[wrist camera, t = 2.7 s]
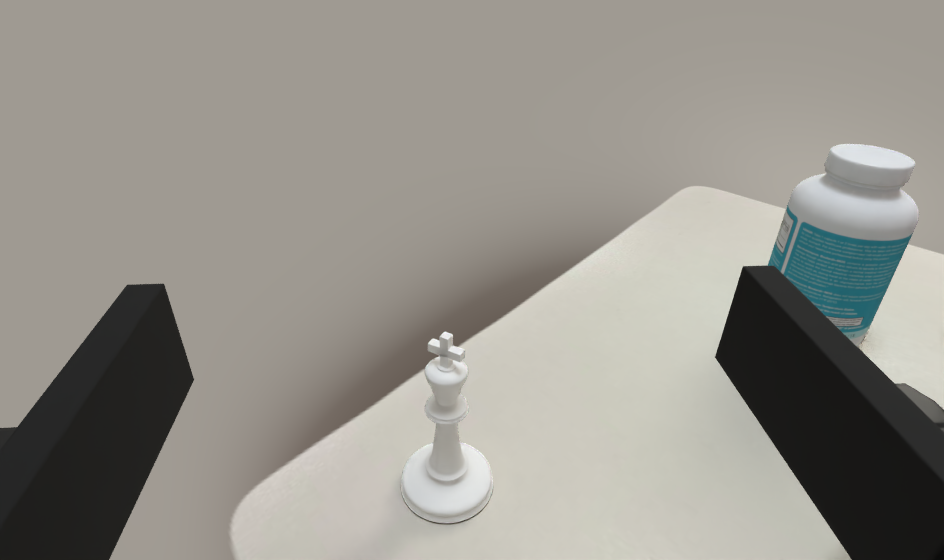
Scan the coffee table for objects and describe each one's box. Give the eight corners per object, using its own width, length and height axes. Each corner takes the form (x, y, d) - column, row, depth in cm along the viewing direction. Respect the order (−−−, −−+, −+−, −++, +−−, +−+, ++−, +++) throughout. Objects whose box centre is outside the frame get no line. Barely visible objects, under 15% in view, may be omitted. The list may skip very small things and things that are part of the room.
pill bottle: (885, 350, 42) (975, 172, 35) (798, 366, 40) (873, 182, 33) (809, 294, 48) (872, 132, 41) (731, 305, 46) (782, 139, 39)
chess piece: (431, 436, 34) (427, 293, 29) (507, 468, 32) (519, 322, 27) (382, 499, 30) (367, 349, 25) (465, 540, 29) (469, 387, 23)
